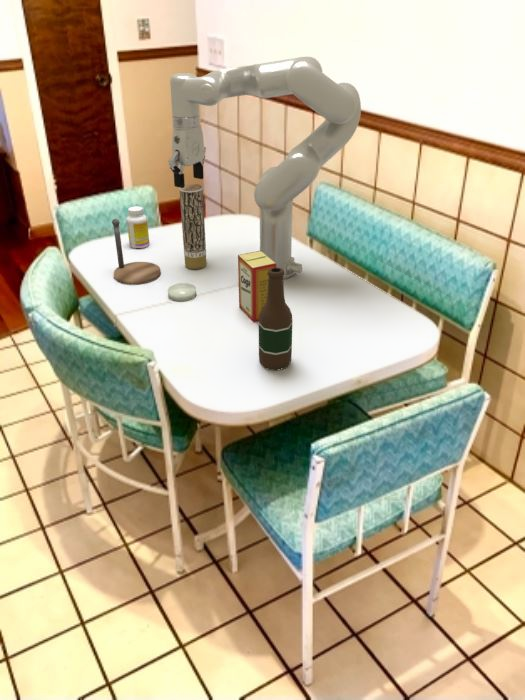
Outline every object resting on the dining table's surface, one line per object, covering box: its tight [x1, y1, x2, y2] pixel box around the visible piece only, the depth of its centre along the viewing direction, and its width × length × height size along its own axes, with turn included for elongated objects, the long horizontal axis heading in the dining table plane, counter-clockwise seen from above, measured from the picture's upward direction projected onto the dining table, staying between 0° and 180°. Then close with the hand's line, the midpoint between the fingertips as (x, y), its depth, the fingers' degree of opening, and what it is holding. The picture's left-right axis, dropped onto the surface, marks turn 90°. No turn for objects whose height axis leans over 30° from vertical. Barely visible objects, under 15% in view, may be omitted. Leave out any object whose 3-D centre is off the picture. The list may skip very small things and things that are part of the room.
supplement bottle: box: [126, 205, 150, 249], centre depth 211 cm, size 7×7×13 cm
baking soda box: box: [237, 250, 276, 323], centre depth 169 cm, size 10×6×16 cm
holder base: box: [111, 218, 162, 286], centre depth 190 cm, size 14×14×17 cm
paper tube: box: [178, 183, 208, 270], centre depth 193 cm, size 7×7×25 cm
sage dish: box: [167, 283, 197, 302], centre depth 182 cm, size 8×8×2 cm
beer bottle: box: [258, 267, 293, 371], centre depth 145 cm, size 8×8×24 cm
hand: (189, 182), depth 186 cm, fingers open, 9 cm apart
